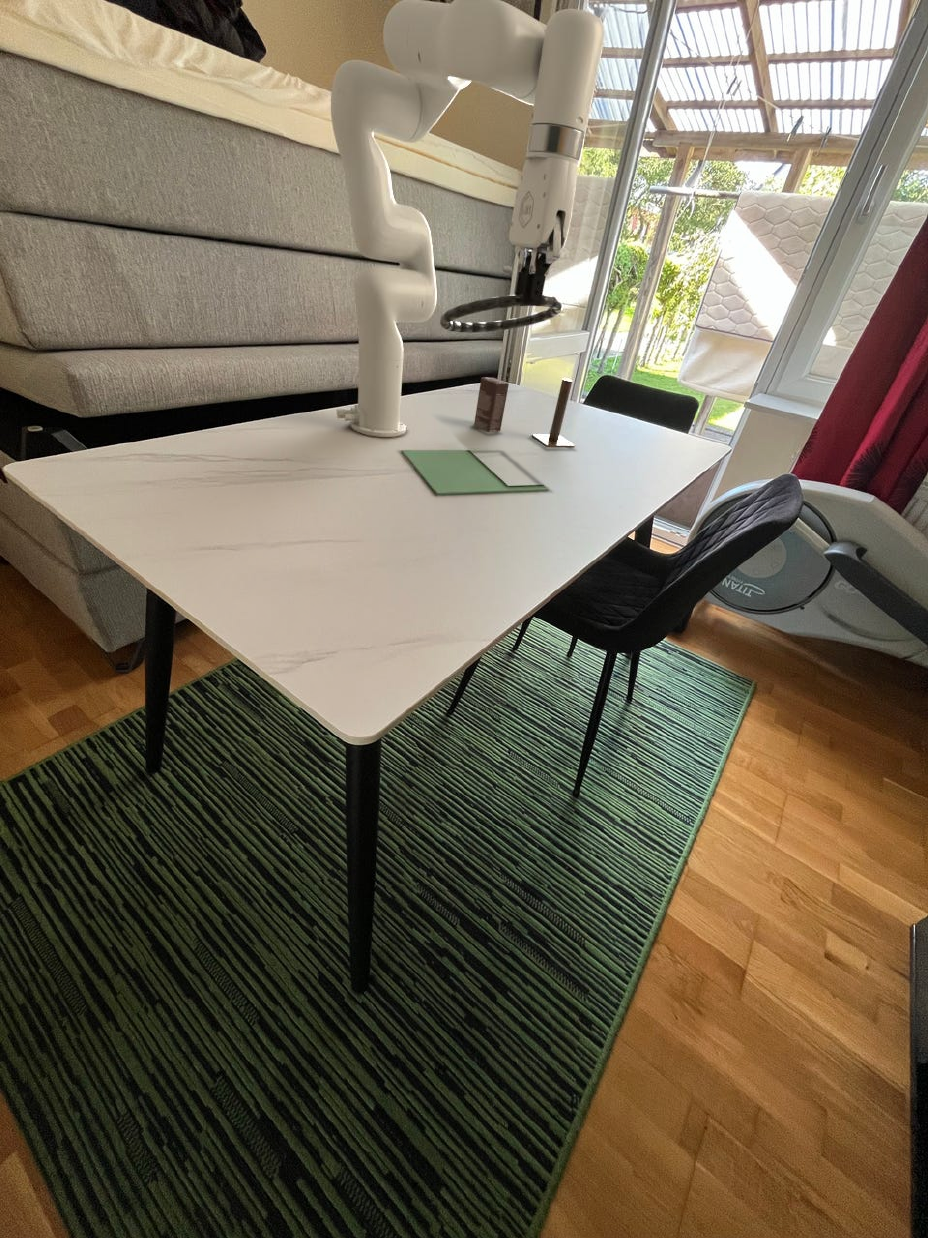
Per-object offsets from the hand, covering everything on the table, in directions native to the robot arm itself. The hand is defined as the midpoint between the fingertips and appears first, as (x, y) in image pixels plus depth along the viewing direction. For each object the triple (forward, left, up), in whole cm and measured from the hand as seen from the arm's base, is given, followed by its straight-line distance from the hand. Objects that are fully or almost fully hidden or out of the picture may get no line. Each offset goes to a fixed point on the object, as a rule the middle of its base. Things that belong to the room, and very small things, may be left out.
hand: (527, 302), depth 82 cm
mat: (0, +10, -31) cm, 33 cm away
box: (+15, +36, -32) cm, 50 cm away
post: (+29, +26, -31) cm, 50 cm away
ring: (0, +9, -3) cm, 10 cm away
